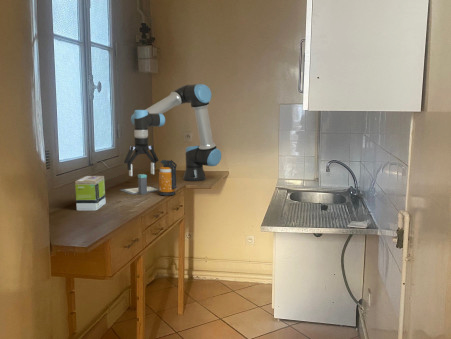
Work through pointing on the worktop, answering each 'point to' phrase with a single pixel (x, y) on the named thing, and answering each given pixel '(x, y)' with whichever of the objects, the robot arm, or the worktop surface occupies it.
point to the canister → (167, 178)
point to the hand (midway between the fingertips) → (141, 174)
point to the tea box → (90, 193)
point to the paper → (135, 190)
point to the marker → (142, 184)
